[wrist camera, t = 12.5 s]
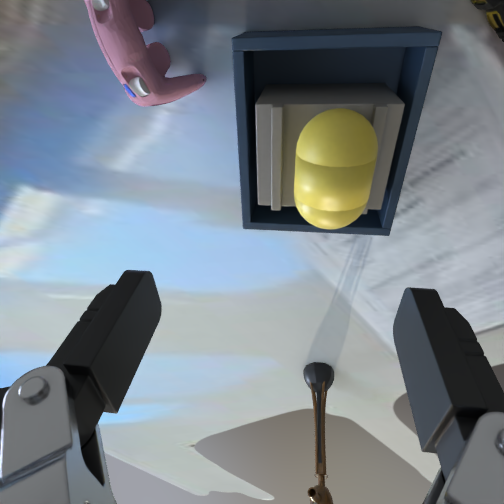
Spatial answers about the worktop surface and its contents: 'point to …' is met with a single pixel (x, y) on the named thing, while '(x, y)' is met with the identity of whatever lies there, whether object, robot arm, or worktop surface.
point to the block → (296, 118)
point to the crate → (330, 72)
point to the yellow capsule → (334, 168)
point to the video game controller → (137, 52)
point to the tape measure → (493, 14)
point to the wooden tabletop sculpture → (319, 426)
